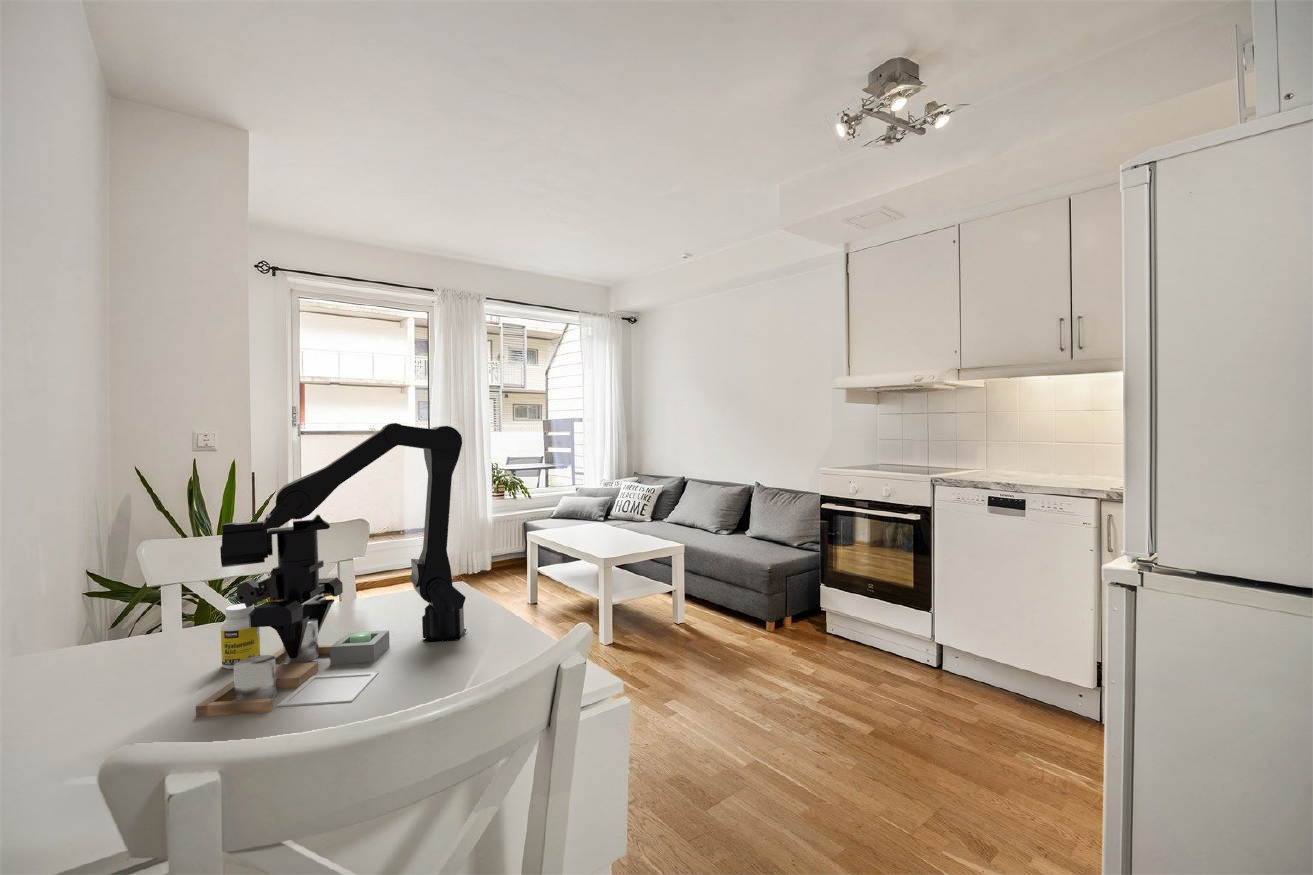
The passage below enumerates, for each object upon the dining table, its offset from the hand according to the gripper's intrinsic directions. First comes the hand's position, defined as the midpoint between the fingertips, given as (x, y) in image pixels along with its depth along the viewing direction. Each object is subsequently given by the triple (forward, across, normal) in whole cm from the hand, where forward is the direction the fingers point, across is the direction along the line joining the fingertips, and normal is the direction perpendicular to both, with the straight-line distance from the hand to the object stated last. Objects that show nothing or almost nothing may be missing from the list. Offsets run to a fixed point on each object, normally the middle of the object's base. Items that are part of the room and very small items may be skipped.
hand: (301, 651), depth 99 cm
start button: (+2, -3, +8) cm, 9 cm away
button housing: (+3, -2, +8) cm, 9 cm away
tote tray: (+3, +11, +10) cm, 15 cm away
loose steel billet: (+1, 0, 0) cm, 1 cm away
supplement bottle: (+3, -4, -12) cm, 12 cm away
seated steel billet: (+2, +13, 0) cm, 13 cm away
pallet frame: (+3, +6, -1) cm, 7 cm away
